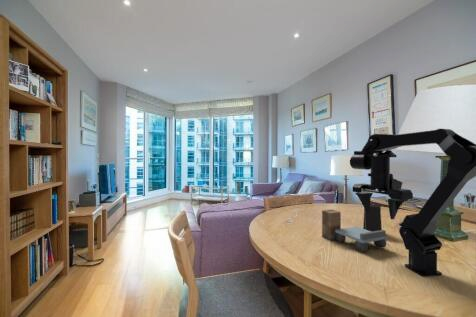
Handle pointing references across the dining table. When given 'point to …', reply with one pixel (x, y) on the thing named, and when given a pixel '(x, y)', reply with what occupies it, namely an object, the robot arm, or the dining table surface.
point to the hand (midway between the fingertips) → (379, 215)
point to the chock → (330, 223)
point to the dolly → (362, 237)
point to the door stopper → (372, 219)
